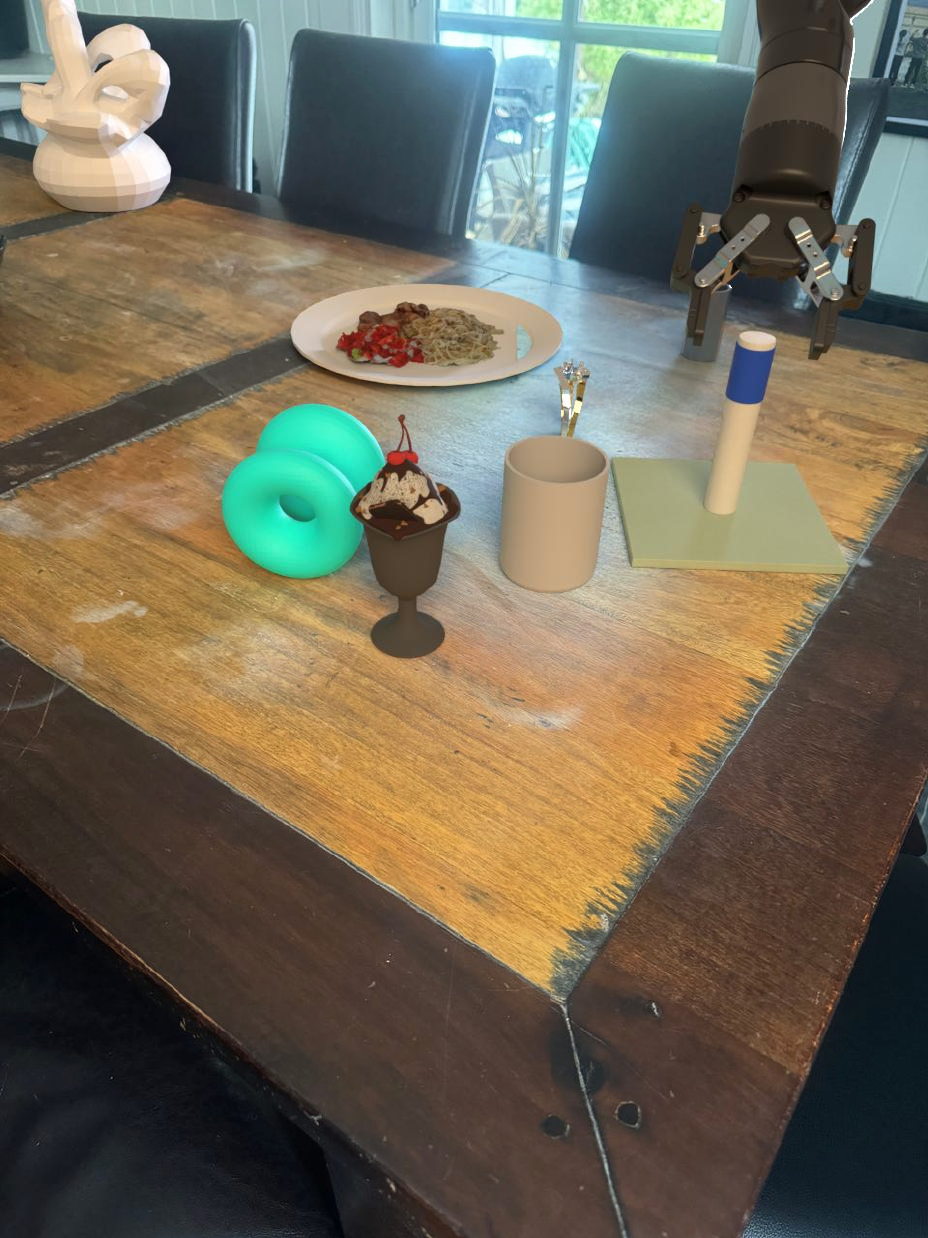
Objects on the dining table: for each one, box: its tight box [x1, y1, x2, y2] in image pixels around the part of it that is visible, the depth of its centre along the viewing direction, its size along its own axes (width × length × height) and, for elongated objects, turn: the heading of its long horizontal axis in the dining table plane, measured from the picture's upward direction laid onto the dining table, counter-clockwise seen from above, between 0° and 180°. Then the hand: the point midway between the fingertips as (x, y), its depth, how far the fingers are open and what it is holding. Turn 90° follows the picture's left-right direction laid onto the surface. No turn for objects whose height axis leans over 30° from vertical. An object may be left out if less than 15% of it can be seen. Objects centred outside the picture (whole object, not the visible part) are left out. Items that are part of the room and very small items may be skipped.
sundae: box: [349, 413, 462, 659], centre depth 56 cm, size 7×7×15 cm
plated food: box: [290, 283, 564, 387], centre depth 101 cm, size 30×30×3 cm
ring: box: [552, 358, 591, 438], centre depth 81 cm, size 7×3×8 cm, turn 172°
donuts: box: [221, 403, 386, 580], centre depth 66 cm, size 10×10×10 cm
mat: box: [610, 456, 850, 575], centre depth 74 cm, size 16×16×1 cm
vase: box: [19, 0, 172, 213], centre depth 138 cm, size 29×22×35 cm
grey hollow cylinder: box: [680, 283, 733, 363], centre depth 98 cm, size 4×4×8 cm
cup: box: [498, 434, 611, 594], centre depth 66 cm, size 7×10×9 cm
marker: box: [703, 330, 777, 515], centre depth 69 cm, size 3×3×14 cm
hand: (756, 348), depth 68 cm, fingers open, 8 cm apart
